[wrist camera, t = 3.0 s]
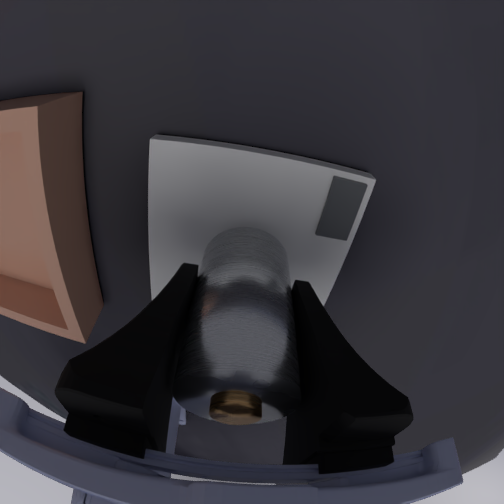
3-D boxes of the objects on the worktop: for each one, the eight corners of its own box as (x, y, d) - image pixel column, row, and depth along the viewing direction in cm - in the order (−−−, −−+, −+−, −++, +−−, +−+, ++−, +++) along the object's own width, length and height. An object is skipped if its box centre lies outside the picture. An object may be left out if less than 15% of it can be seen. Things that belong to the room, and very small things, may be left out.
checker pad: (311, 318, 19) (313, 330, 18) (155, 295, 18) (151, 307, 17) (370, 173, 13) (377, 181, 12) (155, 134, 12) (148, 140, 11)
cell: (277, 299, 15) (282, 439, 9) (200, 288, 15) (172, 427, 9) (297, 235, 13) (322, 392, 7) (207, 220, 13) (165, 374, 7)
